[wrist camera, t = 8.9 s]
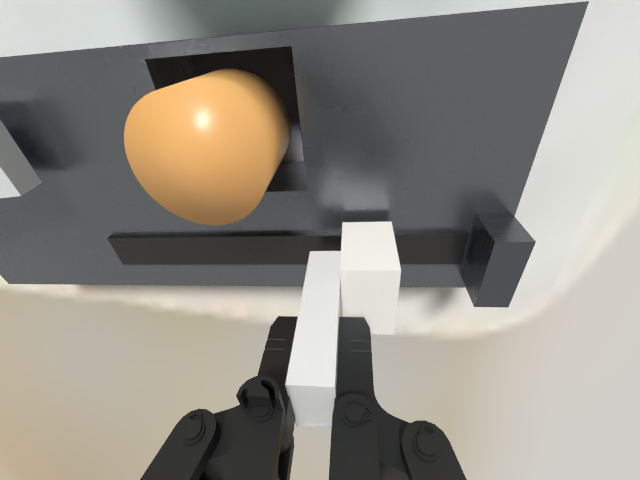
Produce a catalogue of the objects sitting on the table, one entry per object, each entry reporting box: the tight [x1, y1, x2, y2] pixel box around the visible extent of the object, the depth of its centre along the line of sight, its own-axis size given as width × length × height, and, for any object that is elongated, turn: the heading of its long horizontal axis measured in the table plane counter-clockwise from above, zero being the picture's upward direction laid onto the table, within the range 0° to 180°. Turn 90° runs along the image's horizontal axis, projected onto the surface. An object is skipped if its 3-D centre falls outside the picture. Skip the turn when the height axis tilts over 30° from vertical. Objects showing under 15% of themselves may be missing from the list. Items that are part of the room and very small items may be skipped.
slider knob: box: [340, 222, 401, 335], centre depth 14 cm, size 2×4×4 cm, turn 4°
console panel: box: [0, 1, 589, 307], centre depth 16 cm, size 32×13×6 cm, turn 94°
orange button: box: [124, 68, 291, 225], centre depth 12 cm, size 5×5×5 cm
